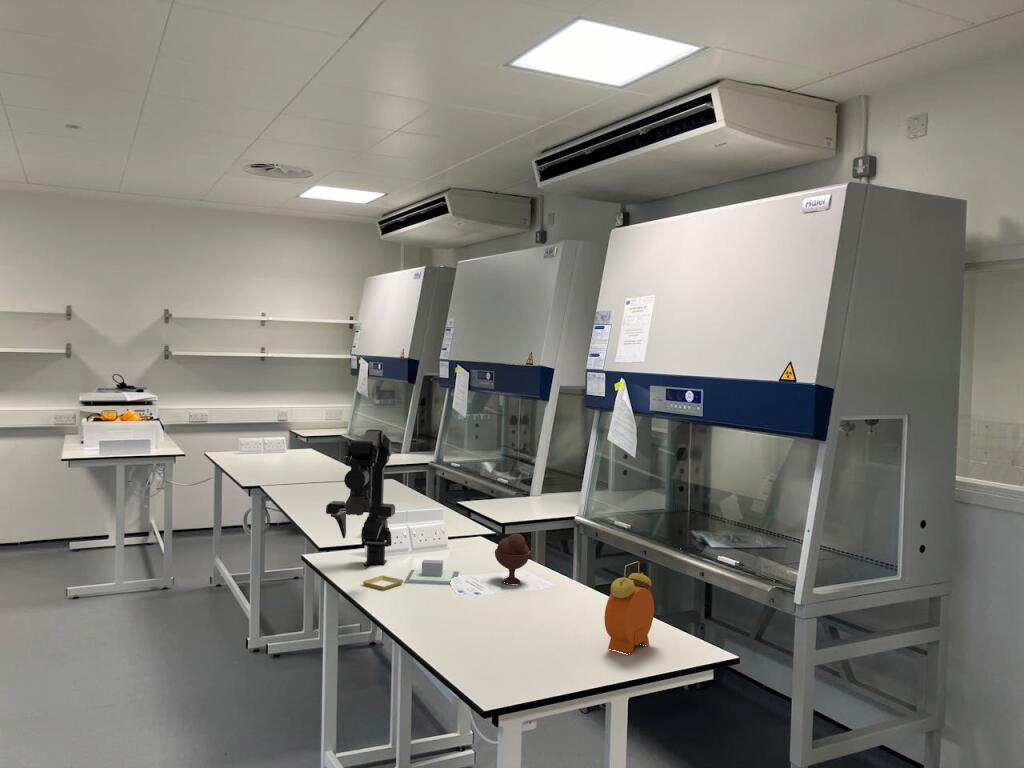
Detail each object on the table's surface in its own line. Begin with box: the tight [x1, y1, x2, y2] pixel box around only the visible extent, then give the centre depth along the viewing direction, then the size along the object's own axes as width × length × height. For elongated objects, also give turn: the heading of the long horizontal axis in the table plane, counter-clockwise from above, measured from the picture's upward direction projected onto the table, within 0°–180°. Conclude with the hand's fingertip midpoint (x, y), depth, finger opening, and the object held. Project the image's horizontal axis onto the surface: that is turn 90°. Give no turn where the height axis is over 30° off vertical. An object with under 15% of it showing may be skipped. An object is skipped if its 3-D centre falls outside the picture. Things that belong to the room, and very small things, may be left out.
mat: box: [403, 569, 460, 586], centre depth 238 cm, size 15×15×1 cm
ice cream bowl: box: [494, 533, 531, 585], centre depth 238 cm, size 11×11×15 cm
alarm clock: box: [603, 561, 655, 654], centre depth 187 cm, size 13×6×20 cm, turn 141°
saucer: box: [362, 575, 404, 591], centre depth 229 cm, size 9×9×2 cm
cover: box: [409, 559, 455, 584], centre depth 238 cm, size 12×12×5 cm
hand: (360, 539), depth 225 cm, fingers open, 9 cm apart
